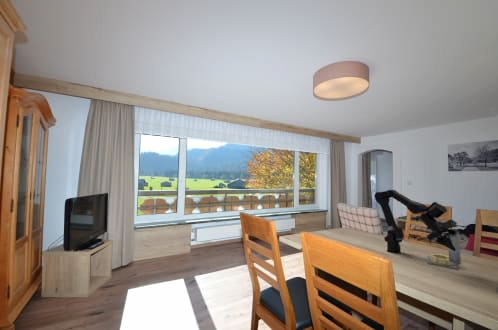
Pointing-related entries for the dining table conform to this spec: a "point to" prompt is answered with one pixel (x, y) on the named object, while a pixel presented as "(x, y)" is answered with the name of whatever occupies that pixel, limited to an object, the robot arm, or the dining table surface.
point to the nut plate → (440, 261)
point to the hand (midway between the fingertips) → (457, 249)
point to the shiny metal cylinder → (455, 255)
